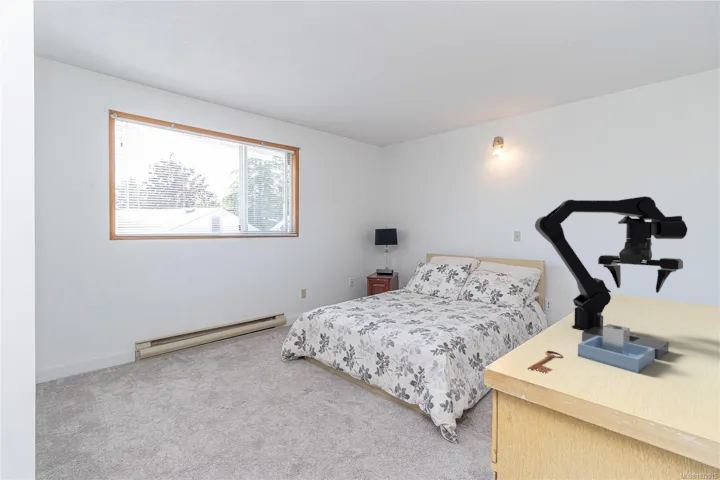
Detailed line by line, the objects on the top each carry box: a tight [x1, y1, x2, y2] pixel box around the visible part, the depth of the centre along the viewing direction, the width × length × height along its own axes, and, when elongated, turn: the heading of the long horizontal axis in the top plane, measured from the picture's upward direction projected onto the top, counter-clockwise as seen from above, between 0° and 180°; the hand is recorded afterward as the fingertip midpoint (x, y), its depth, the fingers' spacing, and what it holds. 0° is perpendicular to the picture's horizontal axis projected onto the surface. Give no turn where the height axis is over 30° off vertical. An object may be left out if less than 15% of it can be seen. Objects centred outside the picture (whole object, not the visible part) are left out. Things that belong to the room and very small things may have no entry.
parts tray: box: [577, 336, 656, 374], centre depth 77 cm, size 12×12×3 cm
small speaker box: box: [603, 323, 631, 356], centre depth 77 cm, size 4×4×7 cm
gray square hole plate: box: [581, 327, 670, 361], centre depth 85 cm, size 16×9×2 cm, turn 34°
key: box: [527, 350, 564, 375], centre depth 75 cm, size 6×1×15 cm
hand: (637, 290), depth 97 cm, fingers open, 9 cm apart
